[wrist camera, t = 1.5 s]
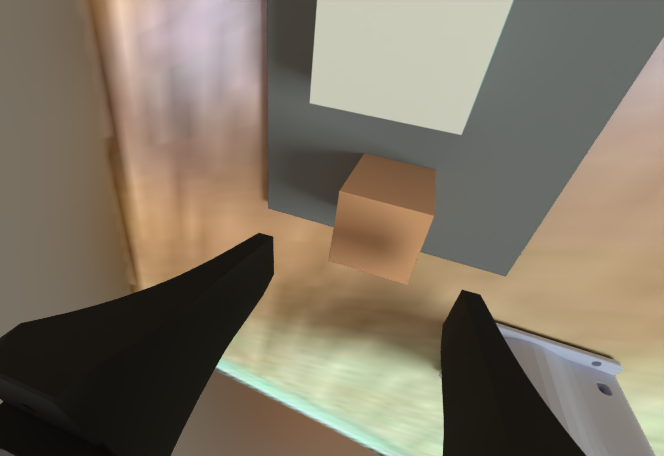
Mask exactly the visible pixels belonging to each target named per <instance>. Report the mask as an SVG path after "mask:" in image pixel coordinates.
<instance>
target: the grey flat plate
mask: <svg viewBox="0 0 664 456" xmlns="http://www.w3.org/2000/svg"><path fill="white" fill-rule="evenodd" d="M316 9H317V0H267V81H268V208H269V209H272V210H276V211H279V212H283V213H286V214H290V215H293V216H297V217H300V218H304V219H307V220H311V221H314V222H318V223H321V224H325V225H328V226H332V227H334V223H335V216H336V210H337V204H338V197H339V191H340V189H341V188H342V186H343V185H344V183H345V182H346V180H347V179H348V177H349V176H350V174H351V173H352V171H353V170H354V168H355V167H356V165H357V164H358V162H359V161H360V159H361V158H362V156H363V155H364V153H365V154H369V155H374V156H378V157H382V158H387V159H391V160H395V161H399V162H404V163H408V164H412V165H416V166H421V167H425V168H429V169H434V170H436V187H435V210H434V218H433V220H432V223H431V225H430V228H429V231H428V233H427V236H426V238H425V241H424V243H423V246H422V248H421V251H420V252H422V253H426V254H429V255H433V256H436V257H440V258H443V259H447V260H450V261H454V262H457V263H461V264H464V265H468V266H471V267H475V268H478V269H482V270H485V271H489V272H492V273H496V274H499V275H503V276H506V275H507V274H508V272H509V271H510V269H511V268H512V266H513V265H514V263H515V262H516V260H517V259H518V257H519V256H520V254H521V252H522V251H523V249H524V248H525V246H526V245H527V243H528V242H529V240H530V239H531V237H532V236H533V234H534V233H535V231H536V230H537V228H538V227H539V225H540V224H541V222H542V221H543V219H544V218H545V216H546V215H547V213H548V212H549V210H550V208H551V207H552V205H553V204H554V202H555V201H556V199H557V198H558V196H559V195H560V193H561V192H562V190H563V189H564V187H565V186H566V184H567V183H568V181H569V180H570V178H571V177H572V175H573V174H574V172H575V171H576V169H577V168H578V166H579V164H580V163H581V161H582V160H583V158H584V157H585V155H586V154H587V152H588V151H589V149H590V148H591V146H592V145H593V143H594V142H595V140H596V139H597V137H598V136H599V134H600V133H601V131H602V130H603V128H604V127H605V125H606V124H607V122H608V120H609V119H610V117H611V116H612V114H613V113H614V111H615V110H616V108H617V107H618V105H619V104H620V102H621V101H622V99H623V98H624V96H625V95H626V93H627V92H628V90H629V89H630V87H631V86H632V84H633V83H634V81H635V80H636V78H637V76H638V75H639V73H640V72H641V70H642V69H643V67H644V66H645V64H646V63H647V61H648V60H649V58H650V57H651V55H652V54H653V52H654V51H655V49H656V48H657V46H658V45H659V43H660V42H661V40H662V39H663V37H664V0H513V2H512V4H511V7H510V10H509V12H508V15H507V17H506V20H505V23H504V25H503V28H502V30H501V33H500V36H499V38H498V41H497V43H496V46H495V49H494V51H493V54H492V56H491V59H490V62H489V64H488V67H487V70H486V72H485V75H484V77H483V80H482V83H481V85H480V88H479V90H478V93H477V96H476V98H475V101H474V103H473V106H472V109H471V111H470V114H469V117H468V119H467V122H466V124H465V127H464V130H463V132H462V135H459V134H454V133H449V132H445V131H440V130H435V129H430V128H425V127H421V126H416V125H411V124H406V123H402V122H397V121H392V120H387V119H382V118H378V117H373V116H368V115H363V114H359V113H354V112H349V111H344V110H339V109H335V108H330V107H325V106H320V105H316V104H311V103H310V90H311V77H312V63H313V49H314V36H315V22H316Z"/></svg>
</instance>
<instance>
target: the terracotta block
mask: <svg viewBox="0 0 664 456" xmlns="http://www.w3.org/2000/svg"><path fill="white" fill-rule="evenodd" d="M435 187H436V170H434V169H429V168H425V167H421V166H416V165H412V164H408V163H404V162H399V161H395V160H391V159H387V158H382V157H378V156H374V155H369V154H365V153H364V155H363V156H362V158H361V159H360V161H359V162H358V164H357V165H356V167H355V168H354V170H353V171H352V173H351V174H350V176H349V177H348V179H347V180H346V182H345V183H344V185H343V186H342V188H341V189H340V191H339V197H338V204H337V210H336V216H335V223H334V229H333V236H332V242H331V248H330V255H329V261H331V262H334V263H338V264H341V265H344V266H347V267H351V268H354V269H357V270H360V271H364V272H367V273H370V274H373V275H377V276H380V277H383V278H386V279H389V280H393V281H396V282H399V283H402V284H406V285H407V284H408V281H409V279H410V276H411V274H412V271H413V269H414V266H415V264H416V261H417V259H418V256H419V253H420V251H421V248H422V246H423V243H424V241H425V238H426V236H427V233H428V231H429V228H430V225H431V223H432V220H433V218H434V210H435Z"/></svg>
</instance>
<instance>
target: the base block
mask: <svg viewBox="0 0 664 456" xmlns="http://www.w3.org/2000/svg"><path fill="white" fill-rule="evenodd" d="M512 2H513V0H317V9H316V22H315V36H314V49H313V63H312V77H311V90H310V103H311V104H316V105H320V106H325V107H330V108H335V109H339V110H344V111H349V112H354V113H359V114H363V115H368V116H373V117H378V118H382V119H387V120H392V121H397V122H402V123H406V124H411V125H416V126H421V127H425V128H430V129H435V130H440V131H445V132H449V133H454V134H459V135H462V132H463V130H464V127H465V124H466V122H467V119H468V117H469V114H470V111H471V109H472V106H473V103H474V101H475V98H476V96H477V93H478V90H479V88H480V85H481V83H482V80H483V77H484V75H485V72H486V70H487V67H488V64H489V62H490V59H491V56H492V54H493V51H494V49H495V46H496V43H497V41H498V38H499V36H500V33H501V30H502V28H503V25H504V23H505V20H506V17H507V15H508V12H509V10H510V7H511V4H512Z"/></svg>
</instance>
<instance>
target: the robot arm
mask: <svg viewBox="0 0 664 456" xmlns="http://www.w3.org/2000/svg"><path fill="white" fill-rule="evenodd" d="M273 275H274V255H273V237H272V236H268V235H265V234H261V233H258V234H256V235H254V236H253V237H251V238H249V239H247V240H246V241H244V242H242V243H240V244H239V245H237V246H235V247H233V248H232V249H230V250H228V251H226V252H224V253H223V254H221V255H219V256H217V257H215V258H214V259H212V260H210V261H208V262H206V263H204V264H202V265H200V266H198V267H196V268H194V269H192V270H190V271H188V272H186V273H183V274H181V275H179V276H177V277H175V278H172V279H170V280H167V281H165V282H163V283H160V284H158V285H155V286H153V287H150V288H147V289H144V290H141V291H139V292H136V293H133V294H130V295H127V296H124V297H121V298H119V299H115V300H112V301H109V302H105V303H102V304H99V305H95V306H91V307H88V308H84V309H80V310H77V311H73V312H69V313H65V314H60V315H56V316H51V317H47V318H43V319H39V320H34V321H29V322H24V323H21V324H19V325H18V326H16V327H15V328H14V329H12V330H11V331H9V332H8V333H7V334H5V335H4V336H2V337H1V338H0V399H1V400H2V401H4V402H3V403H1V404H0V456H171V453H172V451H173V449H174V447H175V445H176V443H177V441H178V439H179V437H180V434H181V433H182V430H183V428H184V426H185V424H186V422H187V420H188V418H189V417H190V414H191V413H192V411H193V409H194V406H195V405H196V403H197V400H198V399H199V397H200V395H201V393H202V391H203V389H204V388H205V386H206V384H207V382H208V380H209V378H210V376H211V375H212V373H213V371H214V369H215V367H216V366H217V364H218V362H219V360H220V359H221V357H222V355H223V353H224V352H225V350H226V348H227V347H228V345H229V344H230V342H231V341H232V339H233V338H234V336H235V335H236V333H237V332H238V331H239V329H240V328H241V326H242V325H243V323H244V322H245V321H246V319H247V318H248V316H249V315H250V313H251V312H252V311H253V309H254V308H255V306H256V305H257V303H258V302H259V300H260V299H261V297H262V296H263V294H264V292H265V290H266V289H267V287H268V285H269V283H270V281H271V279H272V277H273ZM622 370H623V367H622V366H621V364H620V363H619V362H618V361H616V360H613V359H610V358H606V357H603V356H600V355H597V354H594V353H591V352H587V351H584V350H581V349H578V348H575V347H572V346H568V345H565V344H562V343H559V342H556V341H553V340H549V339H546V338H543V337H540V336H537V335H534V334H530V333H527V332H524V331H521V330H518V329H514V328H511V327H508V326H505V325H502V324H499V323H495V321H494V319H493V317H492V315H491V313H490V312H489V310H488V308H487V306H486V304H485V302H484V301H483V299H482V297H481V295H479V294H476V293H472V292H468V291H465V290H462V291H461V293H460V294H459V296H458V298H457V300H456V302H455V304H454V306H453V307H452V309H451V311H450V313H449V315H448V317H447V319H446V320H445V322H444V324H443V329H442V340H441V369H440V371H439V376H440V377H441V378H442V394H443V414H444V441H443V456H655V454H654V452H653V450H652V448H651V446H650V444H649V442H648V440H647V438H646V436H645V434H644V432H643V430H642V428H641V426H640V424H639V422H638V420H637V419H636V417H635V415H634V413H633V411H632V409H631V407H630V405H629V403H628V401H627V399H626V397H625V395H624V393H623V391H622V389H621V387H620V385H619V383H618V381H617V379H616V377H615V376H616V375H617V374H619V373H620V372H621V371H622Z"/></svg>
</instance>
